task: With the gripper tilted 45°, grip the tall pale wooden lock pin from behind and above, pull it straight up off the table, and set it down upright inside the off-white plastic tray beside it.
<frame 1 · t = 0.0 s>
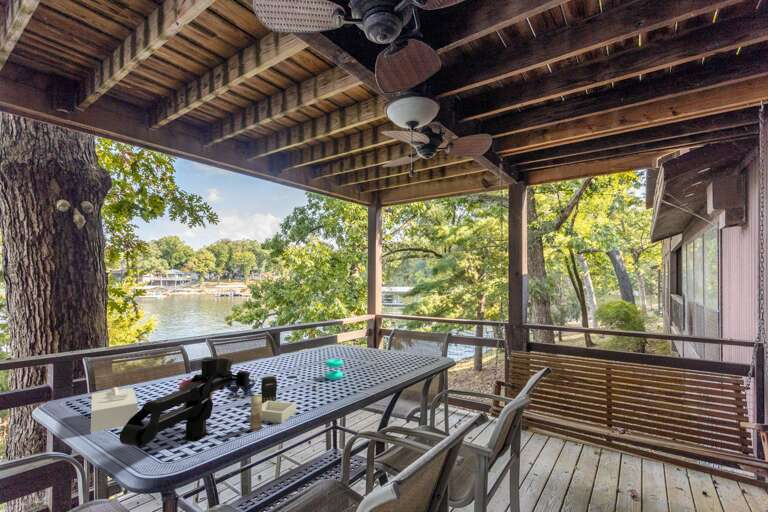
hand: (240, 372, 160), 17 cm above the table, tool horizontal, fingers open, 9 cm apart
teal hourglass-shaped piece: (334, 378, 212), on the table
pin: (255, 428, 142), on the table
battery charger: (268, 402, 172), on the table
plant pot: (197, 412, 160), on the table
tissue box: (113, 420, 151), on the table
tray: (274, 416, 154), on the table
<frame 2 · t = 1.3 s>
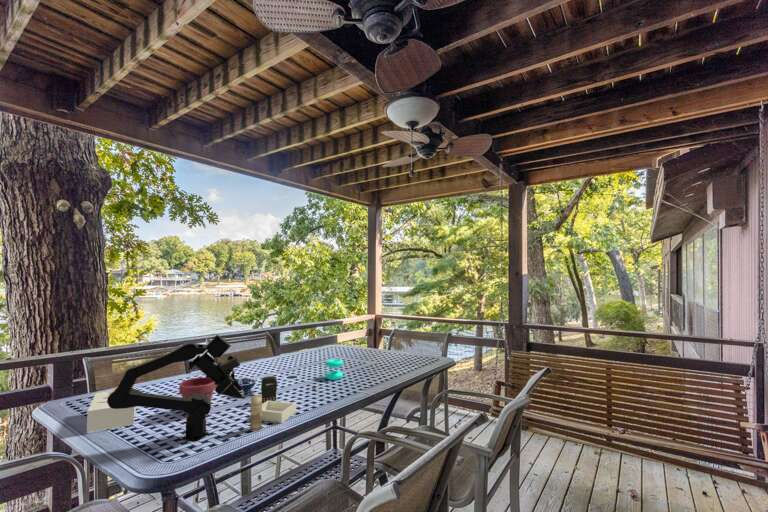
hand: (241, 393, 141), 14 cm above the table, tool tilted 45°, fingers open, 9 cm apart
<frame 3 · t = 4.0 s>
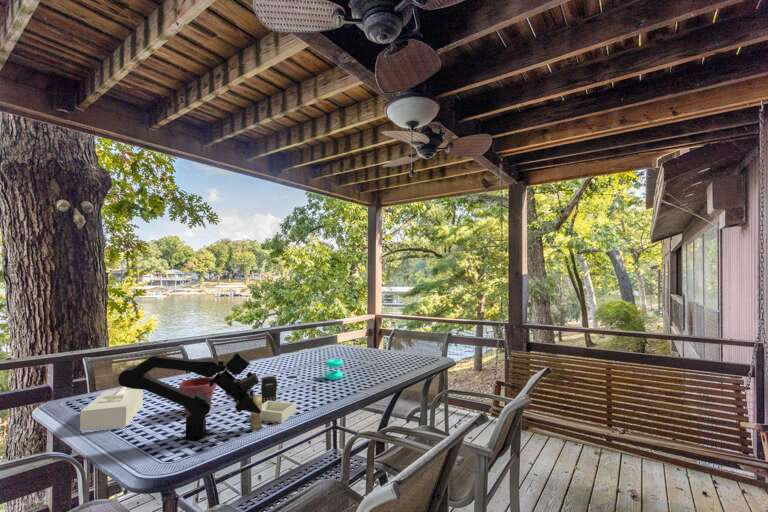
hand: (260, 410, 143), 7 cm above the table, tool tilted 45°, fingers closed on pin, 4 cm apart
pin: (255, 428, 142), on the table, touching gripper
when the fingers open (9 cm above the table, at t = 8.5 s): pin drops 1 cm, resting on tray.
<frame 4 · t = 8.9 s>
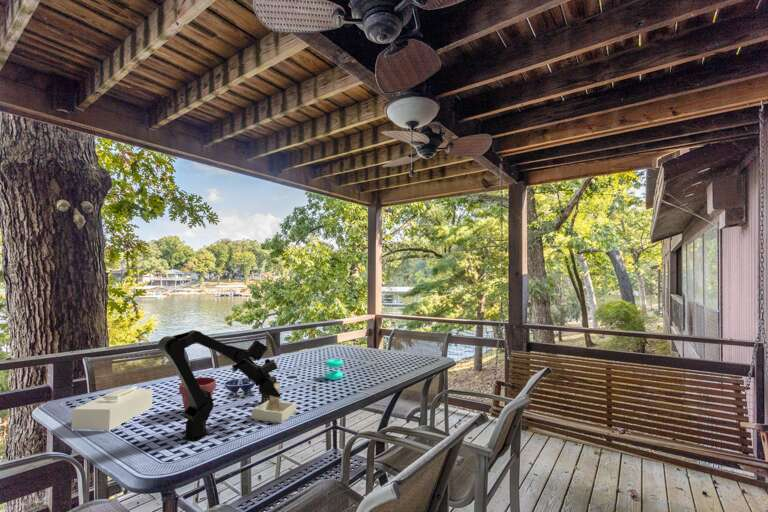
hand: (278, 393, 155), 9 cm above the table, tool tilted 45°, fingers open, 8 cm apart
pin: (274, 413, 154), point 1 cm above the table, touching tray
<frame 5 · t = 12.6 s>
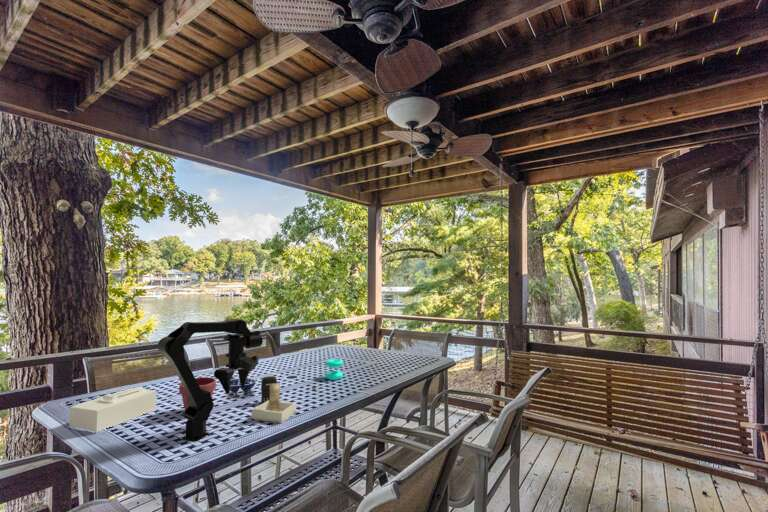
hand: (235, 390, 147), 13 cm above the table, tool pointing down, fingers open, 9 cm apart
at the end: pin inside the target area on the tray (0.0 cm from its centre), point 1.0 cm above the tray's base; pin tilted 0°; the gripper is holding nothing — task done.
